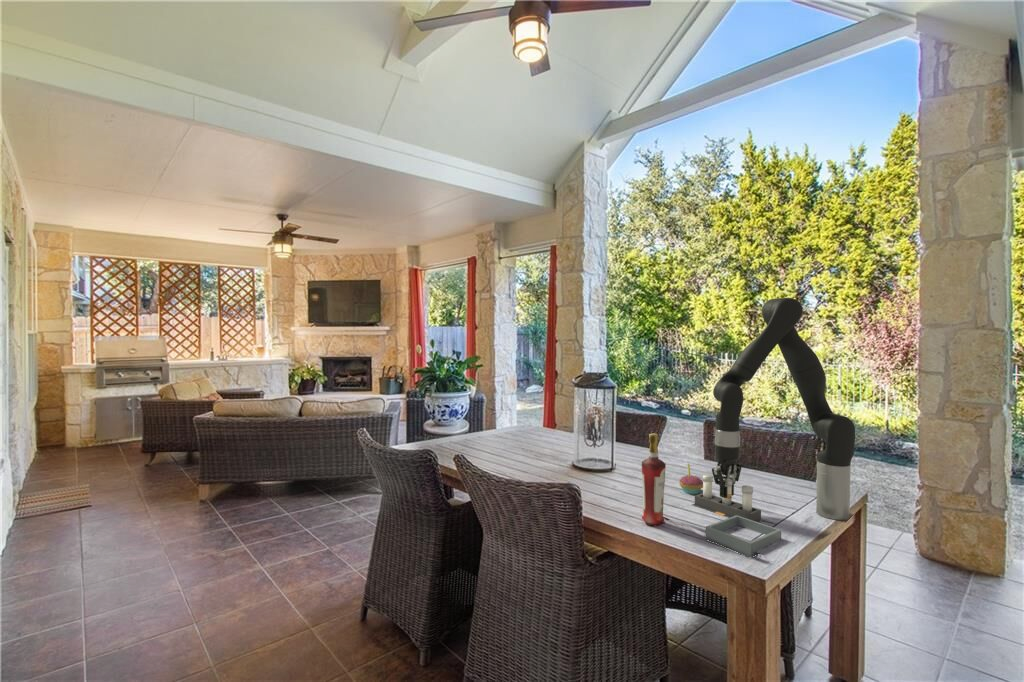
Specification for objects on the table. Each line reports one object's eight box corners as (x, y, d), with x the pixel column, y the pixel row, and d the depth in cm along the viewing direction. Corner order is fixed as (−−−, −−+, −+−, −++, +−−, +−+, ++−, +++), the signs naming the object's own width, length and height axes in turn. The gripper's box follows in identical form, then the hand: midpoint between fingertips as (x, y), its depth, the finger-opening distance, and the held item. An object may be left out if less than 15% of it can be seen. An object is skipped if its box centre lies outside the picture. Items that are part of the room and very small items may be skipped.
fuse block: (705, 504, 172) (705, 491, 172) (764, 524, 155) (764, 509, 155) (690, 509, 168) (691, 496, 168) (750, 530, 150) (750, 515, 150)
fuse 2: (745, 515, 158) (745, 484, 157) (754, 519, 155) (755, 487, 155) (739, 518, 156) (739, 486, 156) (749, 521, 153) (749, 489, 153)
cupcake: (674, 493, 184) (674, 461, 184) (692, 490, 187) (692, 459, 187) (690, 500, 176) (690, 467, 176) (709, 497, 179) (709, 464, 179)
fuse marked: (725, 507, 163) (725, 477, 163) (734, 510, 161) (734, 480, 161) (719, 509, 162) (719, 479, 161) (728, 512, 159) (728, 481, 159)
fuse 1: (706, 503, 169) (706, 474, 169) (714, 505, 167) (714, 476, 166) (700, 504, 167) (700, 475, 167) (708, 507, 165) (709, 478, 165)
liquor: (646, 516, 161) (647, 431, 160) (668, 522, 156) (669, 434, 156) (637, 523, 155) (637, 434, 155) (659, 529, 151) (660, 438, 150)
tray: (736, 528, 152) (736, 515, 152) (781, 544, 141) (781, 530, 140) (705, 540, 143) (705, 526, 143) (750, 558, 132) (751, 543, 132)
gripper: (725, 448, 154) (724, 503, 154) (750, 442, 161) (749, 495, 162) (704, 444, 160) (703, 497, 160) (729, 438, 168) (728, 489, 168)
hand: (726, 495), depth 161 cm, fingers closed on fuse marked, 3 cm apart
